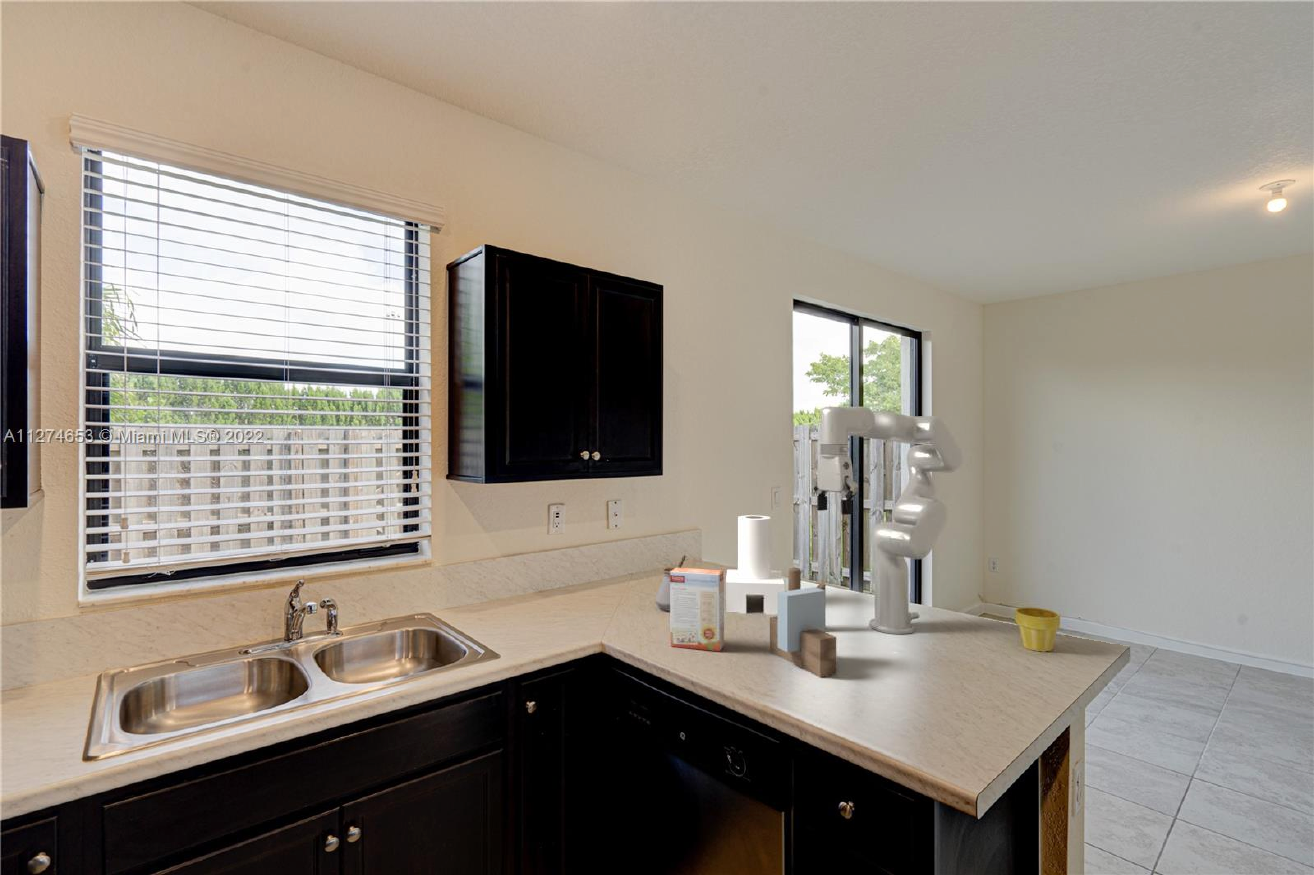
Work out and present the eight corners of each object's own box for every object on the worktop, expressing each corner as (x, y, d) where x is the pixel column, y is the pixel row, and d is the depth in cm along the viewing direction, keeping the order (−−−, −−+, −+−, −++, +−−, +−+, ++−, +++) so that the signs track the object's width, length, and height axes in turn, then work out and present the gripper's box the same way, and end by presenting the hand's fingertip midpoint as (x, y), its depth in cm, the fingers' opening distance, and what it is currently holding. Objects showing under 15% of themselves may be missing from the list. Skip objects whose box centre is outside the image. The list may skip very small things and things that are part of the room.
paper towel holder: (727, 597, 219) (727, 513, 219) (780, 599, 216) (780, 514, 216) (725, 612, 200) (725, 520, 200) (784, 614, 198) (784, 521, 197)
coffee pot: (683, 614, 198) (683, 568, 198) (649, 611, 202) (649, 565, 202) (701, 598, 218) (701, 555, 218) (670, 595, 222) (670, 553, 222)
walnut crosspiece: (784, 648, 167) (784, 615, 167) (836, 674, 149) (836, 637, 149) (769, 651, 165) (769, 617, 165) (820, 677, 147) (820, 640, 147)
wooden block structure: (825, 632, 180) (825, 571, 180) (788, 631, 181) (788, 570, 181) (823, 628, 184) (823, 568, 184) (786, 627, 185) (786, 567, 185)
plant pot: (1012, 649, 166) (1012, 613, 166) (1017, 639, 174) (1017, 604, 174) (1058, 657, 159) (1058, 620, 159) (1061, 646, 168) (1061, 610, 168)
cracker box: (724, 645, 169) (724, 569, 169) (719, 652, 164) (719, 574, 163) (676, 639, 174) (676, 566, 174) (669, 646, 168) (669, 570, 168)
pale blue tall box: (814, 640, 161) (814, 587, 161) (825, 645, 158) (825, 590, 157) (777, 647, 156) (777, 592, 156) (787, 652, 152) (787, 596, 152)
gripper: (867, 451, 165) (867, 515, 165) (823, 450, 181) (823, 508, 181) (845, 452, 162) (845, 516, 162) (803, 450, 178) (803, 509, 178)
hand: (834, 512), depth 172 cm, fingers open, 9 cm apart
